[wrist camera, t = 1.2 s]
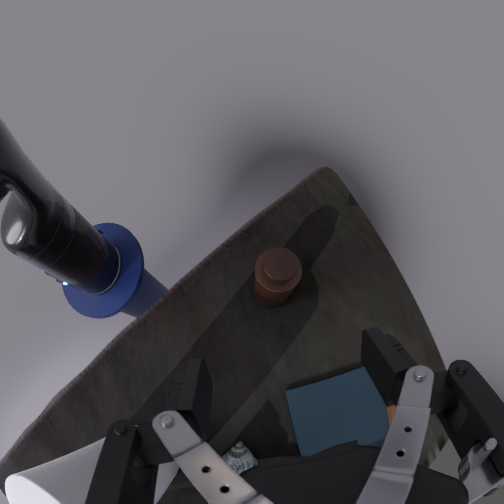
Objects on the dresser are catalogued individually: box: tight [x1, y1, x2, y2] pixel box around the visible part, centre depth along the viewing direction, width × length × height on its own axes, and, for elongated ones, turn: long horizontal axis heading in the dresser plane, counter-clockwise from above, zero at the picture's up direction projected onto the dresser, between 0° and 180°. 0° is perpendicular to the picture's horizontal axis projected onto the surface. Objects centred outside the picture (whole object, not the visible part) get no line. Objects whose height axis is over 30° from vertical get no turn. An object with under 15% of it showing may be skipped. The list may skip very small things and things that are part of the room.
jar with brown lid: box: [254, 247, 302, 308], centre depth 34 cm, size 5×5×12 cm
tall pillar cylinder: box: [5, 425, 179, 504], centre depth 18 cm, size 11×11×25 cm
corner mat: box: [285, 366, 396, 457], centre depth 31 cm, size 15×15×2 cm
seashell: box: [221, 442, 258, 474], centre depth 26 cm, size 6×8×12 cm
